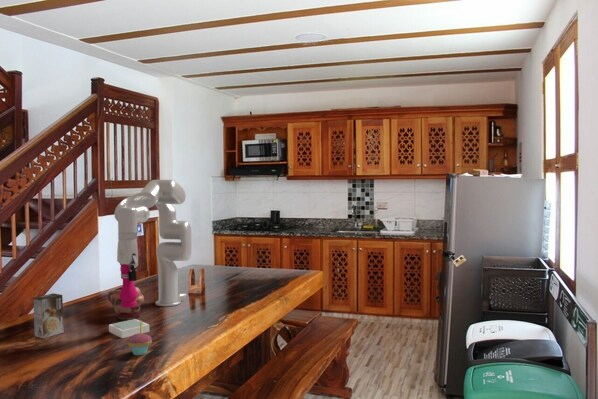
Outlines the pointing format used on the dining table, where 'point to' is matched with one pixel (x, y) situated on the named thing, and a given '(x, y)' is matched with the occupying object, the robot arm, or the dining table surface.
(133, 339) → the cupcake
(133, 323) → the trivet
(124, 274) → the pepper mill
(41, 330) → the coffee box
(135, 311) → the decorative planter
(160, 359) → the dining table surface
